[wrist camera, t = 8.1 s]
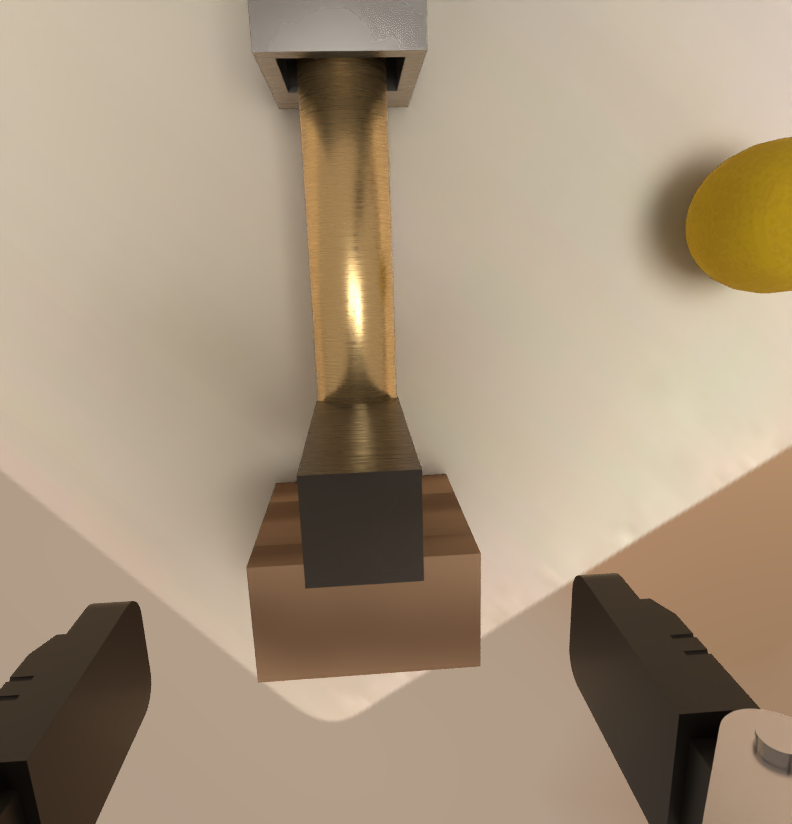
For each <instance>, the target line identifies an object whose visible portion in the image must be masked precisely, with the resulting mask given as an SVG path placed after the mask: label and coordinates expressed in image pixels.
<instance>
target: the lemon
mask: <svg viewBox="0 0 792 824" xmlns="http://www.w3.org/2000/svg"><path fill="white" fill-rule="evenodd" d="M685 226H686V241H687V244H688V247H689V250H690V254H691V255H692V257H693V258H694V260H695V262H696V263H697V265H698V266H699V267H700V268H701V269H702V270H703V271H704V272H705V273H706V274H707V275H708V276H710V277H711V278H712V279H714V280H715V281H718V282H720V283H722V284H724V285H726V286H728V287H731V288H733V289H737V290H743V291H749V292H755V293H775V292H784V291H792V137H789V138H782V139H777V140H773V141H769V142H765V143H761V144H757V145H754V146H752V147H750V148H748V149H746V150H744V151H742V152H740V153H738V154H736V155H734V156H733V157H731V158H729V159H727V160H726V161H724V162H723V163H722V164H721V165H720V166H719V167H717V168H716V169H715V170H714V171H713V172H712V173H711V174H709V175H708V176H707V177H706V179H705V180H704V181H703V183H702V184H701V186H700V187H699V188H698V190H697V191H696V193H695V194H694V197H693V199H692V201H691V204H690V206H689V208H688V214H687V219H686V224H685Z"/></svg>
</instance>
